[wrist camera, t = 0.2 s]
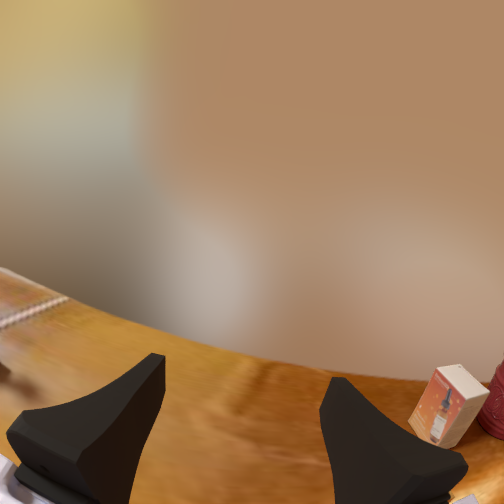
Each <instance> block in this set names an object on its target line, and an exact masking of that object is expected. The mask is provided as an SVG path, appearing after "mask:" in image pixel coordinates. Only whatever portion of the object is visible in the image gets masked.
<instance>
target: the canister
mask: <svg viewBox="0 0 504 504" xmlns="http://www.w3.org/2000/svg"><path fill="white" fill-rule="evenodd" d="M487 389H488V390H489V391H490V393H489V395H488V397H487V399H486V400H485V402H484V404H483V405H482V407H481V409H480V410H479V412H478V414H477V419H478V421H479V423H480V425H481V426H482V427H483V428H484V429H485V430H486V431H487V432H488V433H489V434H491V435H492V436H494V437H496V438H498V439H502V440H504V359H503V361H502V363H501V364H499V365H498V366H497V368H496V372H495V374H494V376H493V378H492V380H491V382H490V384H489V386H488V388H487Z"/></svg>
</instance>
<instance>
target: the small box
mask: <svg viewBox="0 0 504 504" xmlns="http://www.w3.org/2000/svg"><path fill="white" fill-rule="evenodd" d="M489 393H490V391H489V390H488V389H487V388H485V387H484V386H483V385H482V384H480V383H479V382H478V381H477V380H476V379H475V378H474V377H473V376H472V375H471V374H470V373H469V372H468V371H467V370H466V369H465V368H464V367H463V366H462V365H461V364H457V365H451V366H444V367H438V368H436V369H435V371H434V373H433V375H432V377H431V380H430V381H429V384H428V386H427V388H426V390H425V392H424V393H423V395H422V397H421V399H420V401H419V403H418V405H417V407H416V408H415V410H414V412H413V414H412V416H411V417H410V419H409V421H408V422H409V424H410V425H411V426H412V428H413V429H414V431H415V432H416V434H417V435H418V437H419V438H420V439H422V440H424V441H426V442H428V443H431V444H433V445H436V446H438V447H441V448H444V449H449V448H451V447H454V446H456V444H457V443H458V442H459V440H460V439H461V438H462V436H463V435H464V433H465V432H466V430H467V429H468V427H469V426H470V424H471V423H472V421H473V420H474V418H475V417H476V415H477V414H478V412H479V410H480V409H481V407H482V405H483V404H484V402H485V400H486V399H487V397H488V395H489Z"/></svg>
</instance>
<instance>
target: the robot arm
mask: <svg viewBox="0 0 504 504" xmlns="http://www.w3.org/2000/svg"><path fill="white" fill-rule="evenodd" d="M165 391H166V390H165V356H164V355H159V354H155V353H151V354H149V355H148V356H147V357H146V358H144V359H143V360H142V361H141V362H139V363H138V364H137V365H136V366H134V367H133V368H132V369H130V370H129V371H128V372H126V373H125V374H123V375H122V376H121V377H119V378H118V379H116V380H114V381H113V382H111V383H110V384H108V385H107V386H105V387H103V388H101V389H99V390H97V391H95V392H93V393H91V394H89V395H87V396H84V397H82V398H79V399H76V400H74V401H71V402H68V403H64V404H61V405H57V406H52V407H48V408H42V409H34V410H24V411H23V412H22V413H21V414H20V415H19V416H18V417H17V419H16V420H15V421H14V422H13V424H12V425H11V426H10V427H9V429H8V430H7V432H6V435H7V439H8V441H9V443H10V445H11V447H12V448H13V450H14V451H15V453H16V455H17V456H18V458H19V459H20V461H21V462H22V463H21V464H20V466H19V467H17V466H16V465H15V464H14V463H13V462H12V461H10V460H9V459H8V458H6V457H5V456H3V455H2V454H0V504H129V499H130V494H131V490H132V486H133V482H134V478H135V474H136V470H137V466H138V463H139V459H140V456H141V453H142V450H143V447H144V445H145V443H146V440H147V438H148V436H149V434H150V431H151V429H152V427H153V424H154V422H155V420H156V418H157V415H158V413H159V411H160V408H161V405H162V401H163V398H164V394H165ZM319 412H320V422H321V429H322V433H323V437H324V441H325V445H326V449H327V453H328V457H329V460H330V464H331V469H332V474H333V483H334V493H335V504H449V503H448V500H450V499H451V496H450V494H449V491H450V490H451V489H452V488H453V487H454V486H455V485H456V484H457V483H458V482H459V481H460V480H461V479H462V478H463V477H464V476H465V475H466V473H467V471H468V467H469V466H468V465H467V463H466V461H465V460H464V458H463V456H462V455H461V453H458V452H454V451H451V450H447V449H444V448H441V447H438V446H436V445H433V444H431V443H428V442H426V441H424V440H422V439H420V438H418V437H416V436H414V435H413V434H411V433H409V432H407V431H406V430H404V429H403V428H401V427H400V426H398V425H397V424H395V423H394V422H393V421H391V420H390V419H389V418H387V417H386V416H385V415H384V414H383V413H381V412H380V411H379V410H378V409H377V408H376V407H375V406H373V405H372V404H371V403H370V402H369V401H368V400H367V399H366V398H365V397H364V396H363V395H362V394H361V393H360V392H359V391H358V390H357V389H356V388H355V387H354V386H353V385H352V384H351V383H350V382H349V381H348V380H347V379H346V378H344V377H332V379H331V381H330V384H329V387H328V389H327V392H326V394H325V397H324V399H323V402H322V404H321V406H320V409H319ZM452 504H479V503H478V501H477V500H476V498H475V496H474V494H471V495H469V496H467V497H465V498H462V499H460V500H458V501H456V502H454V503H452Z"/></svg>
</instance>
